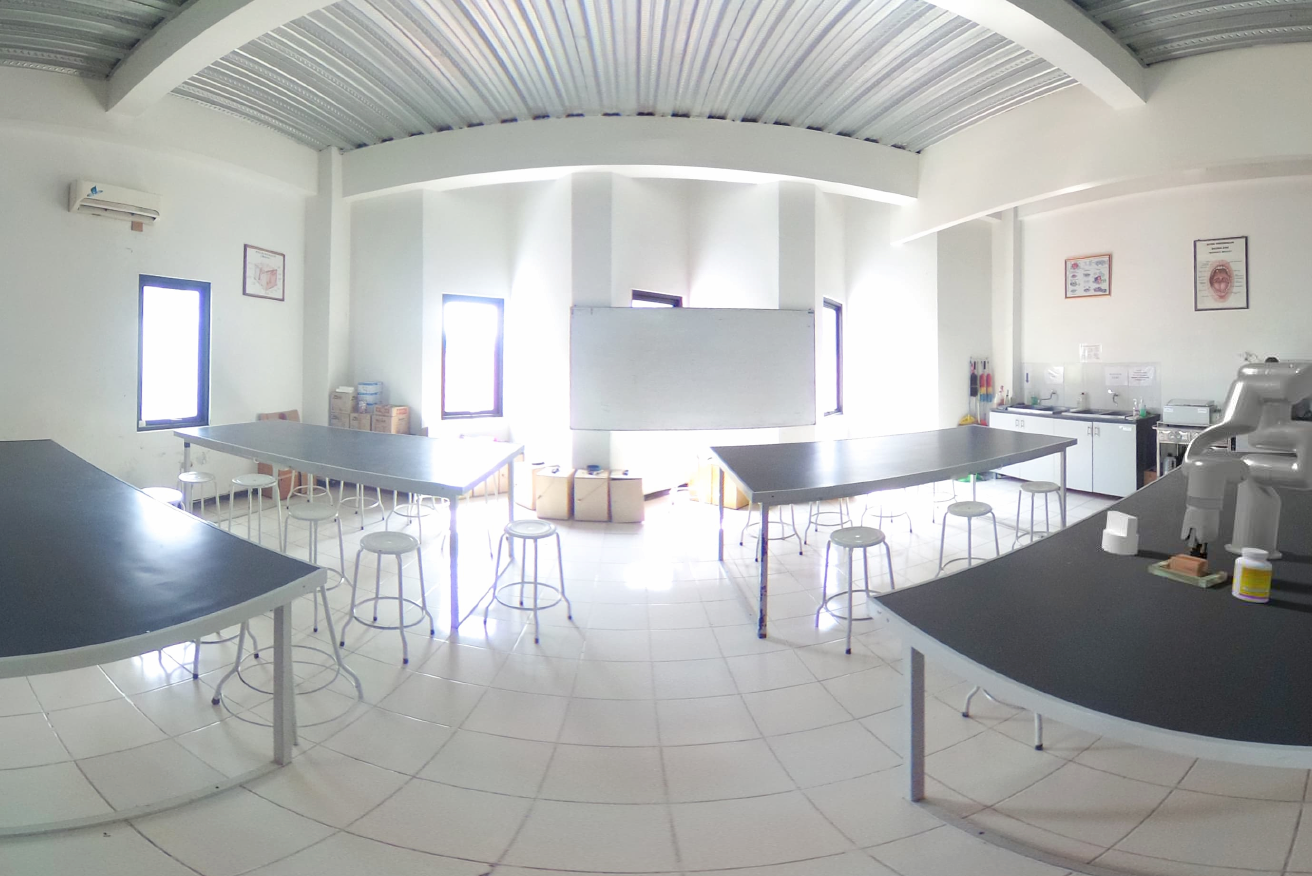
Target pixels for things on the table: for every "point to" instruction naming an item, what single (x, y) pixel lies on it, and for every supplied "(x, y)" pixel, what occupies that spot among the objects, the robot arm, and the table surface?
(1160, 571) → the walled lane
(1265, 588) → the supplement bottle
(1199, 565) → the terracotta block
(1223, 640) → the table surface
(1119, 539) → the base with upright slab
